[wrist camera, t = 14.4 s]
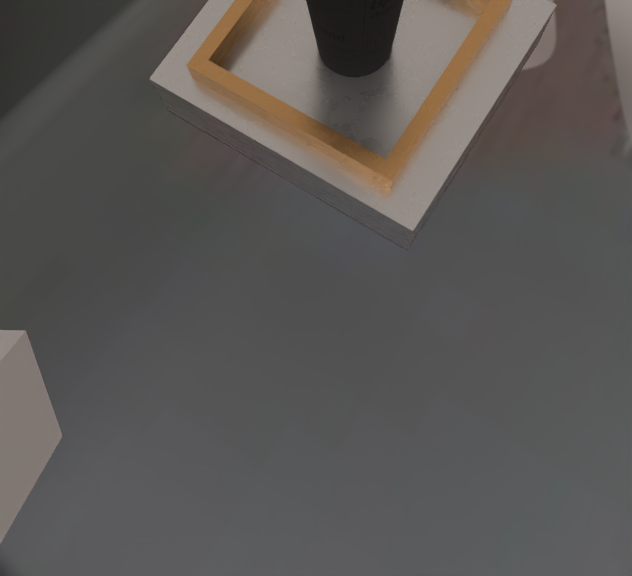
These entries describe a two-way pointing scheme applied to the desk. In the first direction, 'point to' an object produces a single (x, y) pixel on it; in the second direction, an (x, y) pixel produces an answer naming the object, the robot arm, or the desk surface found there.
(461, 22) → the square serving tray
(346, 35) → the drinking cup
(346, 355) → the desk surface
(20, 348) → the robot arm
